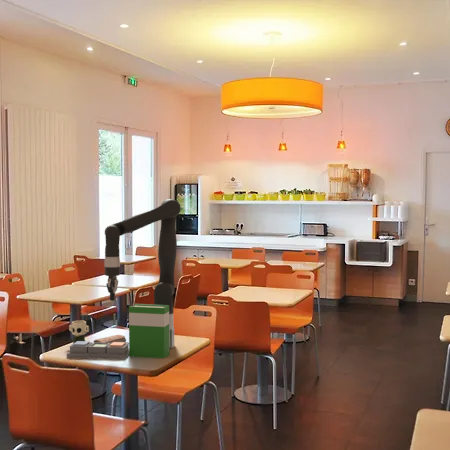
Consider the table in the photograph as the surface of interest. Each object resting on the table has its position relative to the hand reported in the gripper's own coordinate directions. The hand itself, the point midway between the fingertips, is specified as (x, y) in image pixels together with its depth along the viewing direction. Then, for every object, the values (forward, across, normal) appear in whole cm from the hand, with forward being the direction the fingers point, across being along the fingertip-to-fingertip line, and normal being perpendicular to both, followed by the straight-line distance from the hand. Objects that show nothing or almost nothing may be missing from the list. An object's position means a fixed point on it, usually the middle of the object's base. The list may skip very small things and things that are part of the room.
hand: (112, 300), depth 291 cm
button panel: (+25, -9, +4) cm, 27 cm away
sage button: (+22, -9, +4) cm, 25 cm away
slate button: (+21, -9, +13) cm, 26 cm away
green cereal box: (+25, -7, -20) cm, 33 cm away
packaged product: (+26, +9, +5) cm, 28 cm away
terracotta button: (+21, -9, -5) cm, 24 cm away
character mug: (+25, +5, +19) cm, 32 cm away
